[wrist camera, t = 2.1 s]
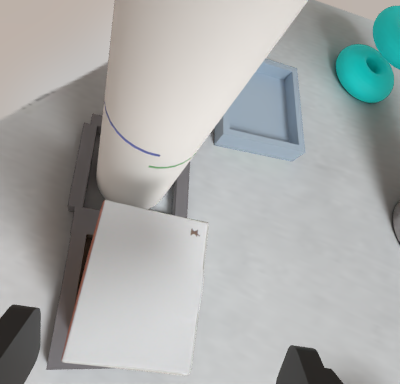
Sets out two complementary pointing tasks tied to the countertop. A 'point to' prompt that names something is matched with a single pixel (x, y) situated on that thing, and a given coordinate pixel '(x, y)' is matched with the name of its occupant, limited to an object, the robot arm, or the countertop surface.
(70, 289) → the holder
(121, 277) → the small box
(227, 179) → the countertop surface
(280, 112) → the tray
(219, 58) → the cylindrical container
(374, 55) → the donuts
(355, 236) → the countertop surface
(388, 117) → the countertop surface
